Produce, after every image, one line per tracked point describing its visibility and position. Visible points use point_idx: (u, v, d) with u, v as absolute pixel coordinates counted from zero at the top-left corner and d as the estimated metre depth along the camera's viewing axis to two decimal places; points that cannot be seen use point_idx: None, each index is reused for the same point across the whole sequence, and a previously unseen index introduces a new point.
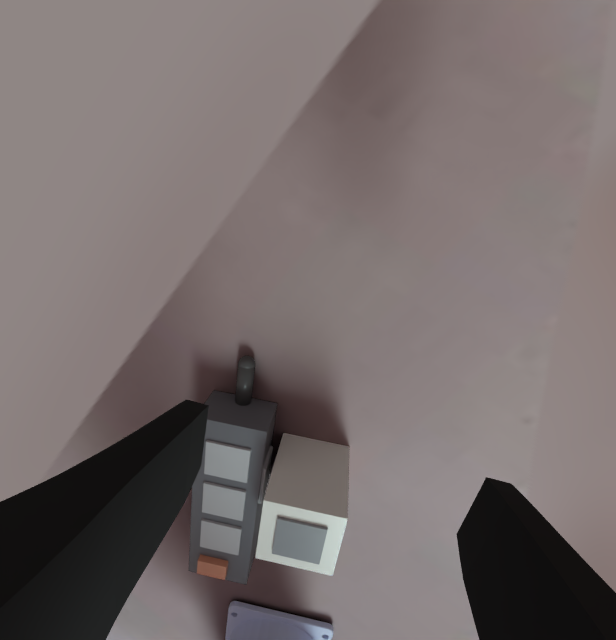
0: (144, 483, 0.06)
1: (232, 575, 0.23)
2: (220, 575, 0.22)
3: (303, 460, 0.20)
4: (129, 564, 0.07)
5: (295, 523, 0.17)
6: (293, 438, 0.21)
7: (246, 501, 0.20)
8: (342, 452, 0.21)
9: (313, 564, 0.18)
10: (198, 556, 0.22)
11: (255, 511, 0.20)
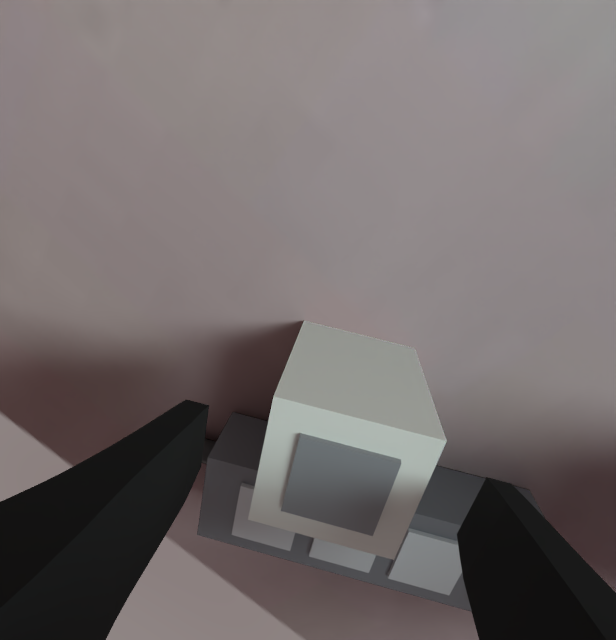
0: (144, 483, 0.06)
1: None
2: None
3: None
4: (129, 564, 0.07)
5: (291, 484, 0.09)
6: None
7: None
8: None
9: (406, 471, 0.08)
10: None
11: None
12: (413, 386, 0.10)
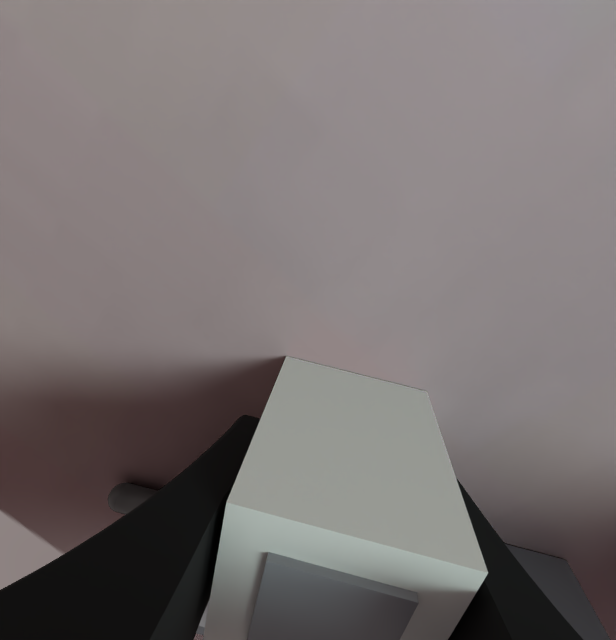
0: None
1: None
2: None
3: None
4: (207, 586, 0.07)
5: (258, 617, 0.06)
6: None
7: None
8: None
9: (426, 610, 0.06)
10: None
11: None
12: (430, 461, 0.07)
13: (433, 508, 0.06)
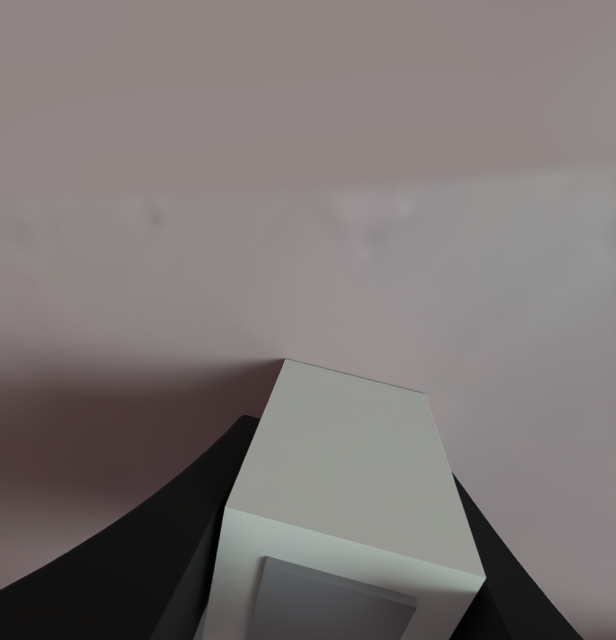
0: None
1: None
2: None
3: None
4: (206, 586, 0.07)
5: (257, 621, 0.06)
6: None
7: None
8: None
9: (424, 614, 0.06)
10: None
11: None
12: (429, 465, 0.07)
13: (431, 512, 0.06)
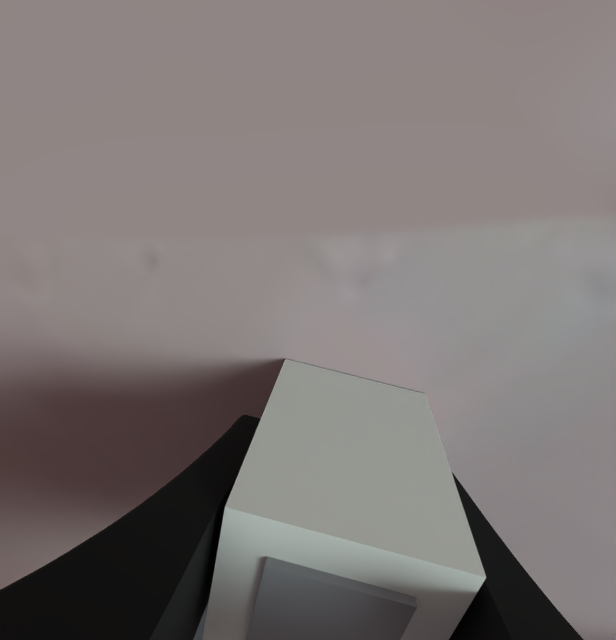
0: (225, 505, 0.06)
1: None
2: None
3: None
4: (206, 586, 0.07)
5: (257, 621, 0.06)
6: None
7: None
8: None
9: (424, 614, 0.06)
10: None
11: None
12: (429, 464, 0.07)
13: (431, 512, 0.06)
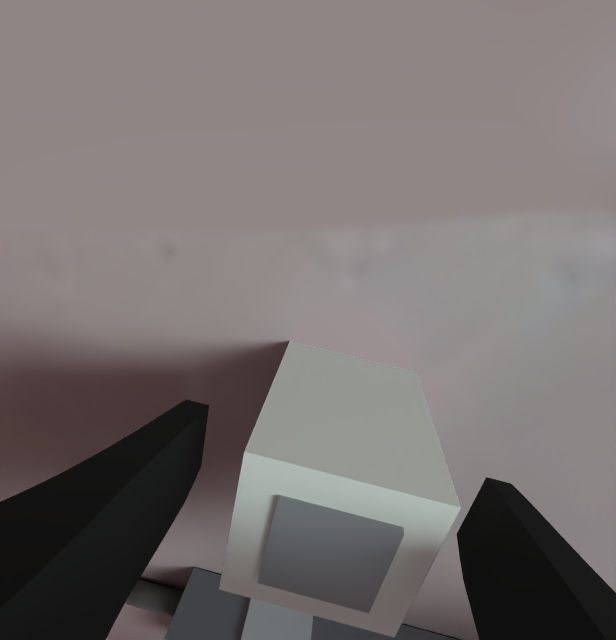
0: (144, 483, 0.06)
1: None
2: None
3: None
4: (129, 564, 0.07)
5: (269, 553, 0.07)
6: None
7: None
8: None
9: (410, 542, 0.07)
10: None
11: None
12: (417, 426, 0.08)
13: (417, 461, 0.07)
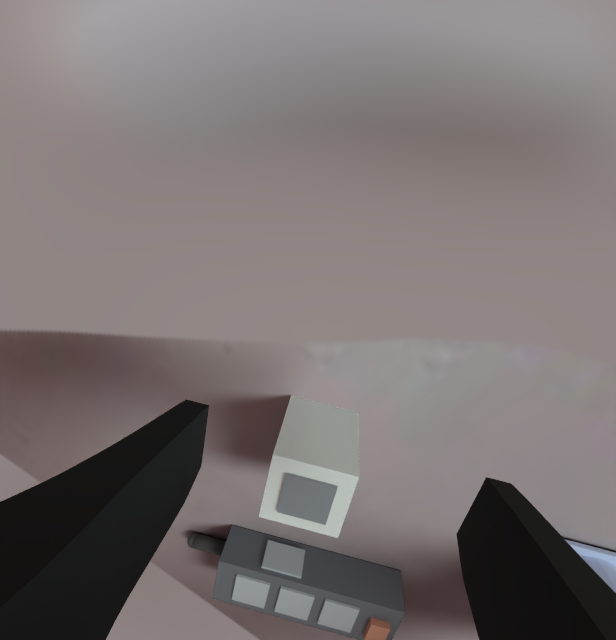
0: (144, 483, 0.06)
1: (392, 619, 0.23)
2: (383, 631, 0.23)
3: None
4: (129, 564, 0.07)
5: (282, 498, 0.17)
6: None
7: (294, 588, 0.23)
8: None
9: (340, 492, 0.17)
10: (366, 636, 0.24)
11: (305, 585, 0.23)
12: (350, 442, 0.18)
13: (346, 458, 0.17)
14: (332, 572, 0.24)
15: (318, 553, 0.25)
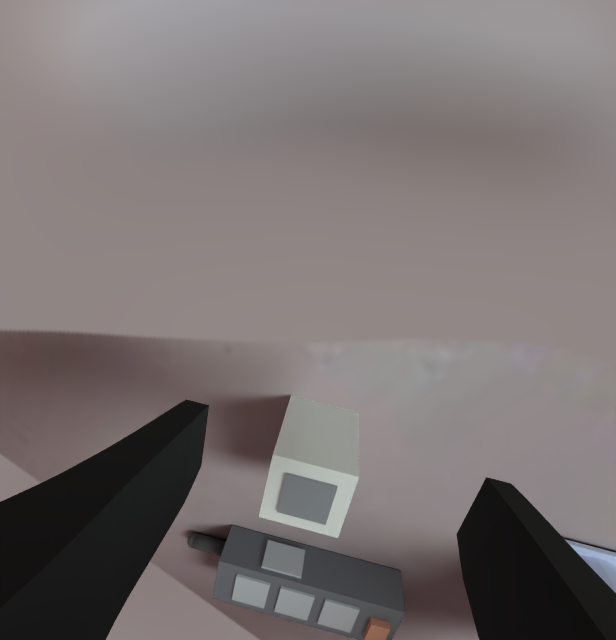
0: (144, 483, 0.06)
1: (392, 619, 0.23)
2: (383, 631, 0.23)
3: None
4: (129, 564, 0.07)
5: (282, 498, 0.17)
6: None
7: (294, 588, 0.23)
8: None
9: (340, 492, 0.17)
10: (366, 636, 0.24)
11: (305, 585, 0.23)
12: (350, 442, 0.18)
13: (346, 458, 0.17)
14: (332, 572, 0.24)
15: (318, 553, 0.25)
